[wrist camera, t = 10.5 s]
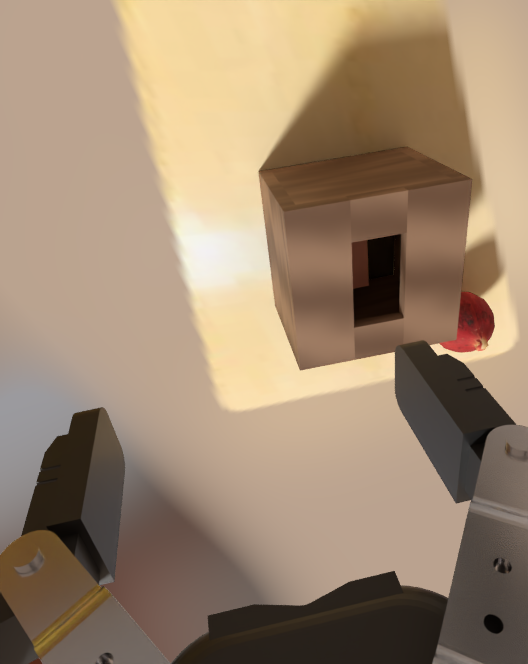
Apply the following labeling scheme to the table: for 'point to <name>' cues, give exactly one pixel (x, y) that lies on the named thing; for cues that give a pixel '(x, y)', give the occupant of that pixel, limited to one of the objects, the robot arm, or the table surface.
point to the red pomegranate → (472, 325)
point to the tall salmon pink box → (360, 264)
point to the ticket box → (358, 225)
